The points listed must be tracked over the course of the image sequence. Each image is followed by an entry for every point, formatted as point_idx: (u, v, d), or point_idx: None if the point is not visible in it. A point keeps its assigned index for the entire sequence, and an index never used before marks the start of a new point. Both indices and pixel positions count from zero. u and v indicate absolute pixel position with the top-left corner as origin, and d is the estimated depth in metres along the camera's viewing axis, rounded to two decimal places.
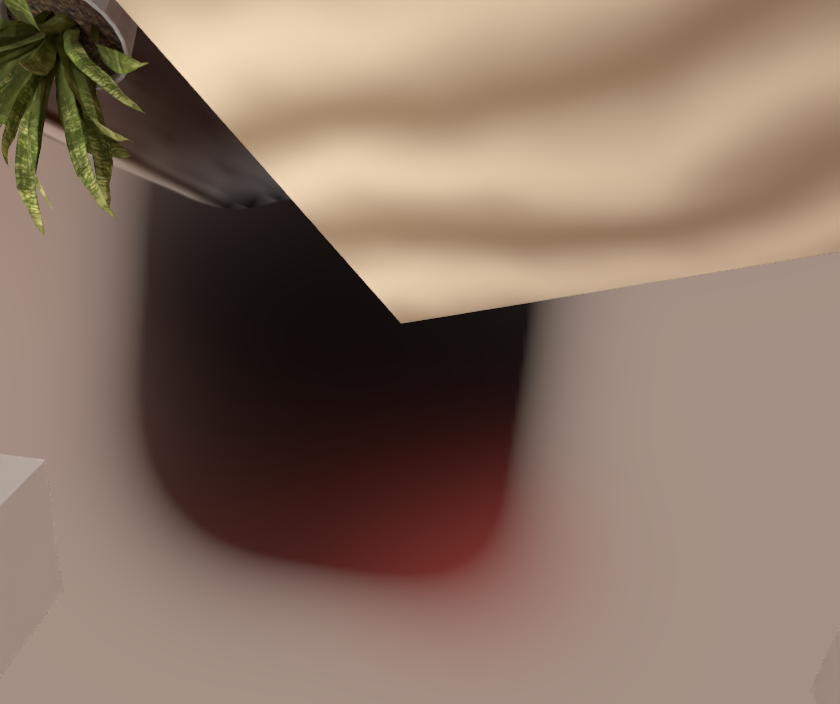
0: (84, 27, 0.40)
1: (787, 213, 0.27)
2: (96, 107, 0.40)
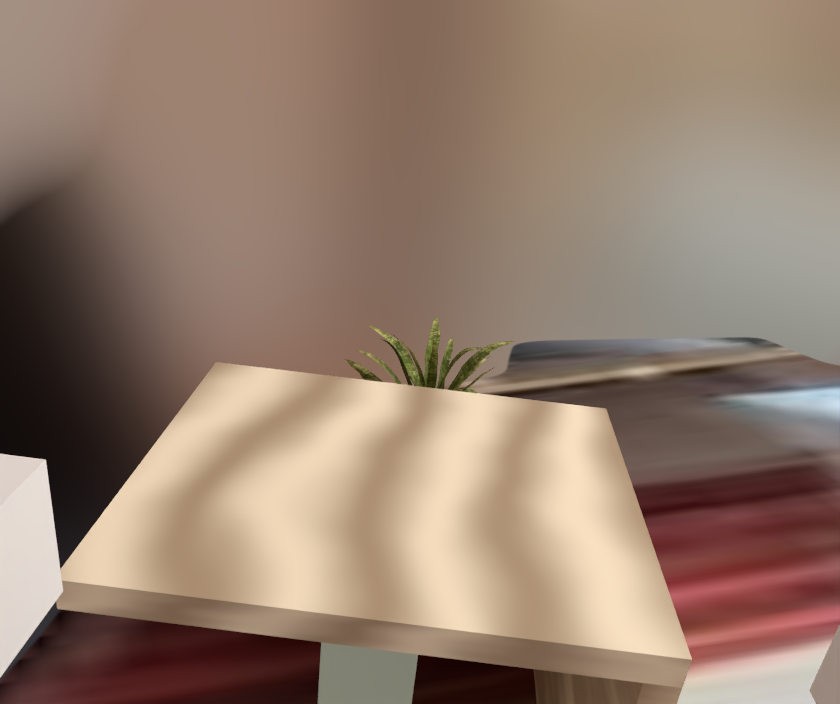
0: None
1: (147, 557, 0.29)
2: None
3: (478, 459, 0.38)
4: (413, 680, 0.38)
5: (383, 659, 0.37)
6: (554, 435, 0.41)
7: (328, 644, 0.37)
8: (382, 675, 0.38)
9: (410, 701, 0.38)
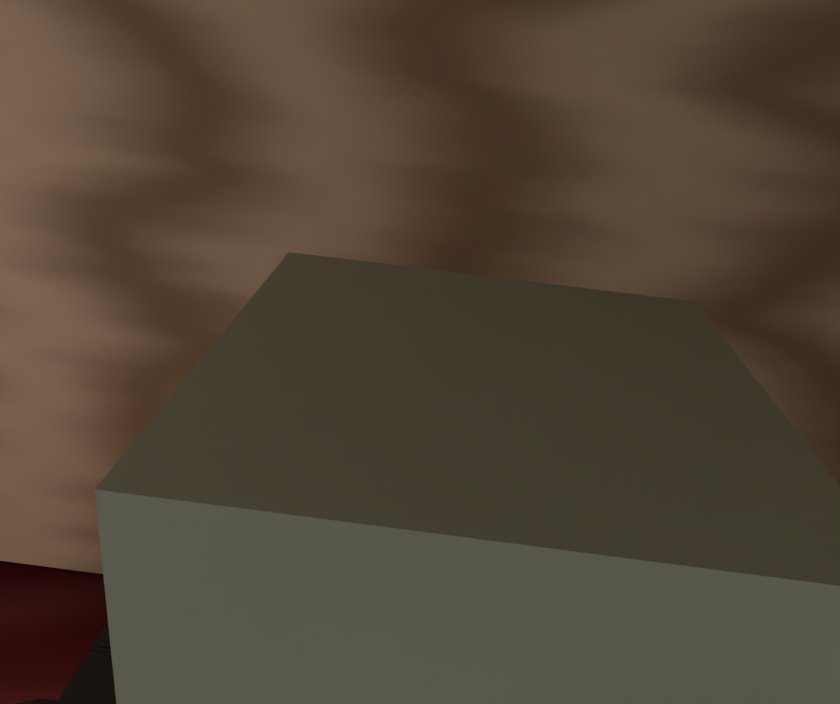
0: None
1: None
2: None
3: None
4: None
5: None
6: None
7: (166, 635, 0.05)
8: None
9: None
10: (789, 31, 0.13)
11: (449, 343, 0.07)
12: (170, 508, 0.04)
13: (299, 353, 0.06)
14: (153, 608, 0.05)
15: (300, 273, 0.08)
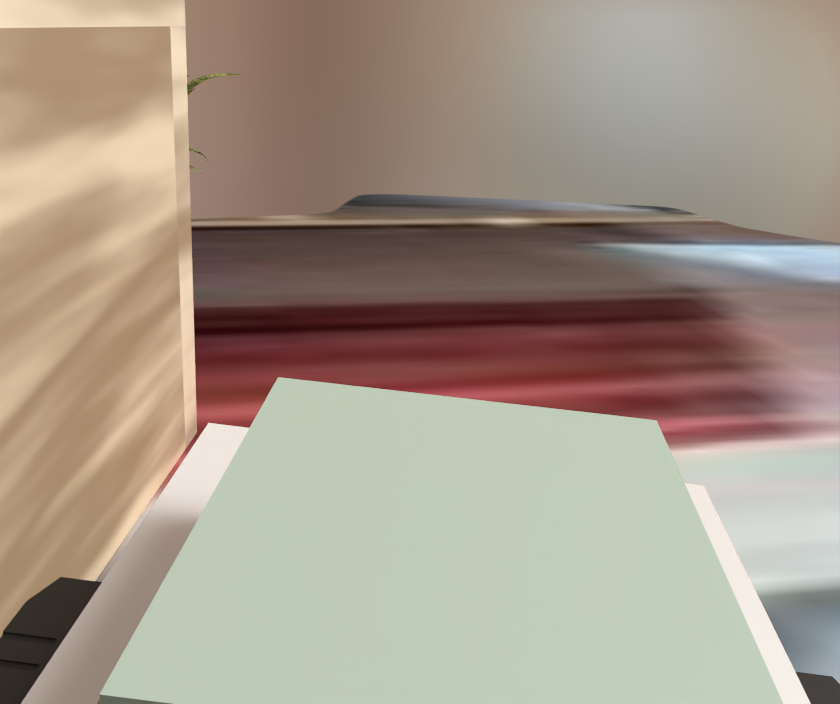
0: None
1: None
2: None
3: None
4: None
5: None
6: None
7: None
8: None
9: None
10: None
11: (421, 491, 0.08)
12: None
13: (283, 512, 0.07)
14: None
15: (288, 405, 0.09)
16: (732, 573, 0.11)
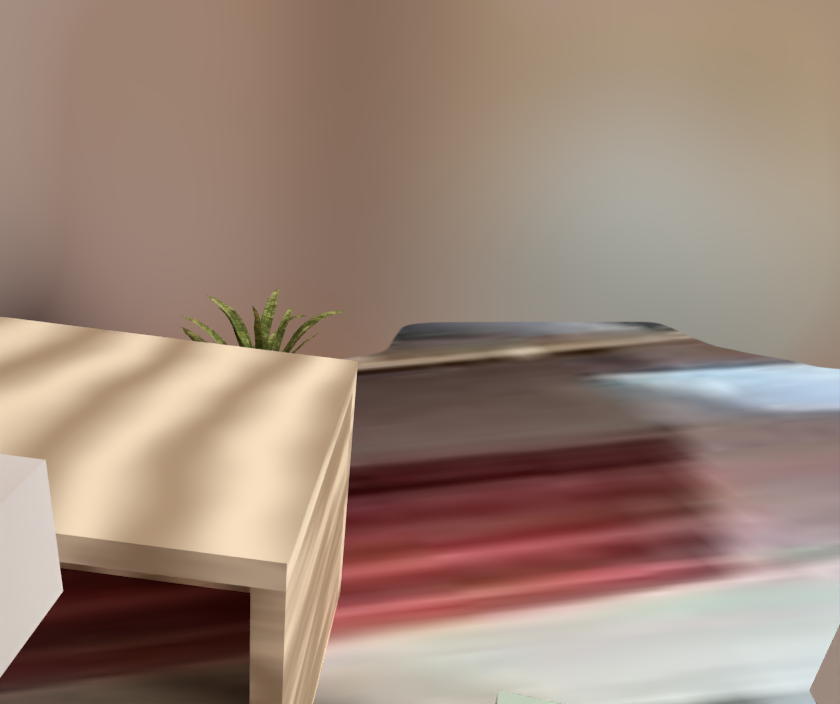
0: None
1: None
2: None
3: (196, 400, 0.41)
4: None
5: None
6: (288, 382, 0.44)
7: None
8: None
9: None
10: None
11: None
12: None
13: None
14: None
15: None
16: None
